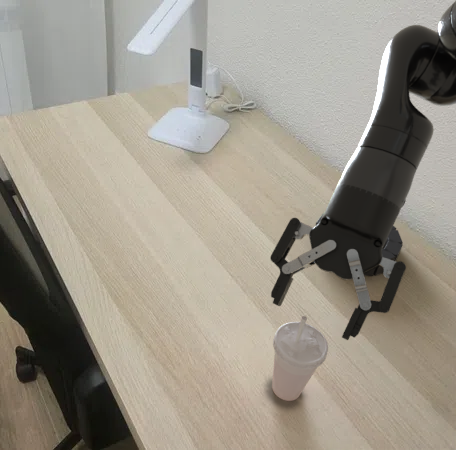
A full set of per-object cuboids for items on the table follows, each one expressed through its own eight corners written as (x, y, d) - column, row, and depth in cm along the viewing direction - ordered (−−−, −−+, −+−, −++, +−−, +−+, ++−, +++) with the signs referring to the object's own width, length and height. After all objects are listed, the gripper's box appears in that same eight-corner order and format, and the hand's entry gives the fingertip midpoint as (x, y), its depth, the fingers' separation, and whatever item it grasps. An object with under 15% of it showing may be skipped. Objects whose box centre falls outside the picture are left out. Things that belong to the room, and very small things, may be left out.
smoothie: (259, 366, 74) (277, 295, 65) (306, 368, 74) (331, 298, 65) (264, 409, 69) (284, 339, 60) (315, 411, 69) (343, 342, 60)
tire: (405, 240, 94) (411, 227, 92) (381, 288, 86) (387, 274, 84) (330, 210, 100) (334, 197, 98) (300, 252, 91) (303, 239, 89)
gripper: (307, 165, 64) (248, 292, 64) (435, 212, 58) (369, 352, 58) (315, 181, 70) (261, 296, 71) (429, 224, 64) (370, 349, 65)
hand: (309, 321), depth 64 cm, fingers open, 8 cm apart
